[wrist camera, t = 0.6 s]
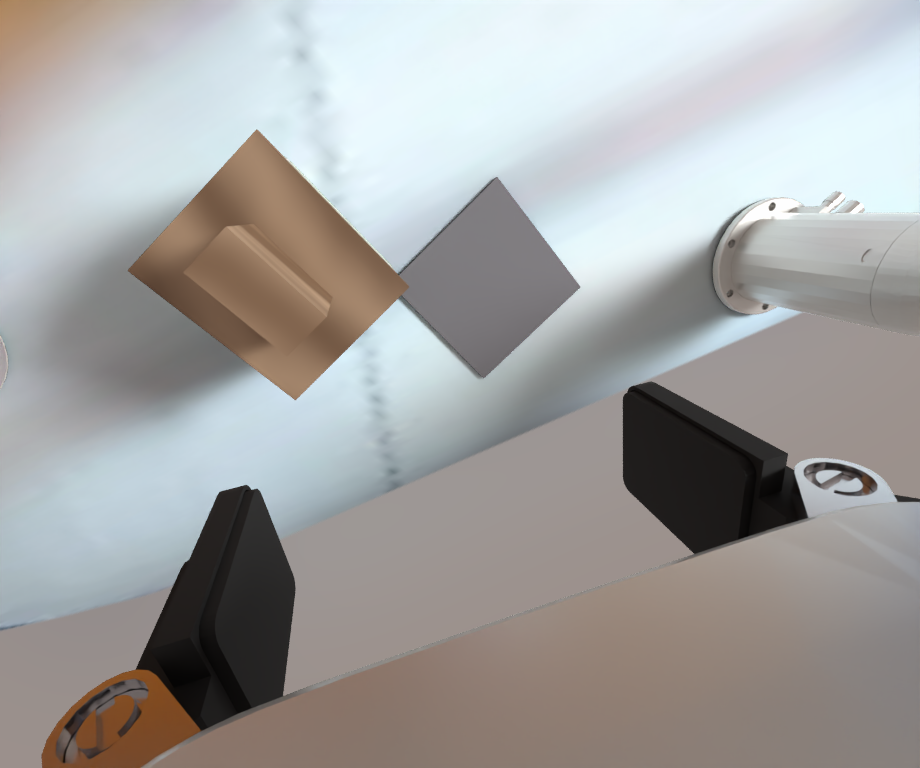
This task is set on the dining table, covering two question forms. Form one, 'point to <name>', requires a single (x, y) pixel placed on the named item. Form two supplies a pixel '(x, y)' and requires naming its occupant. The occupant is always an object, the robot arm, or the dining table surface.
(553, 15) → the dining table surface
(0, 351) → the pudding
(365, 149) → the dining table surface
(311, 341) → the lid
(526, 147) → the dining table surface
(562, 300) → the mat
